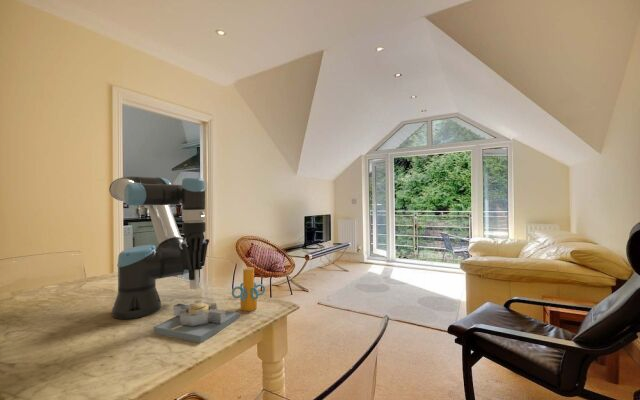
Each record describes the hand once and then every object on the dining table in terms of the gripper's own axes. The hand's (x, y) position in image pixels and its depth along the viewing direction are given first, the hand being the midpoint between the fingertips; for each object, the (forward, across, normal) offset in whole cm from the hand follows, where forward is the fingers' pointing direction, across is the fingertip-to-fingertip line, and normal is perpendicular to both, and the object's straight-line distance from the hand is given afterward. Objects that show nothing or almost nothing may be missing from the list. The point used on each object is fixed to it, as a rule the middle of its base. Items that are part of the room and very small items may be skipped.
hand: (194, 288), depth 102 cm
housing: (+10, -6, -8) cm, 14 cm away
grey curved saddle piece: (+7, -6, -8) cm, 12 cm away
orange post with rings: (+10, +12, -15) cm, 21 cm away
